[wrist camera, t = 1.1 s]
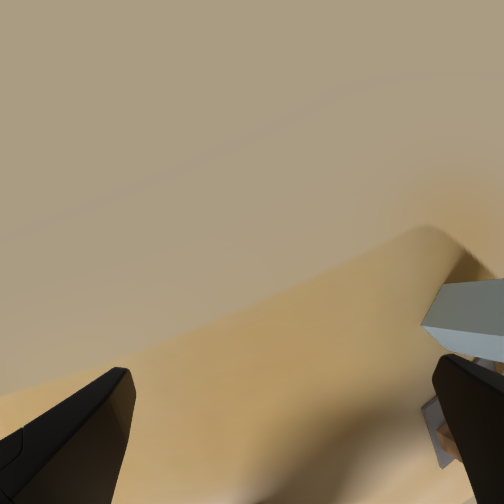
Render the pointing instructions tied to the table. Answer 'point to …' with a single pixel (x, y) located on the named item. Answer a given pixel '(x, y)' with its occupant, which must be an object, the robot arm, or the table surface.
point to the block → (469, 318)
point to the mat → (437, 419)
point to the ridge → (447, 442)
